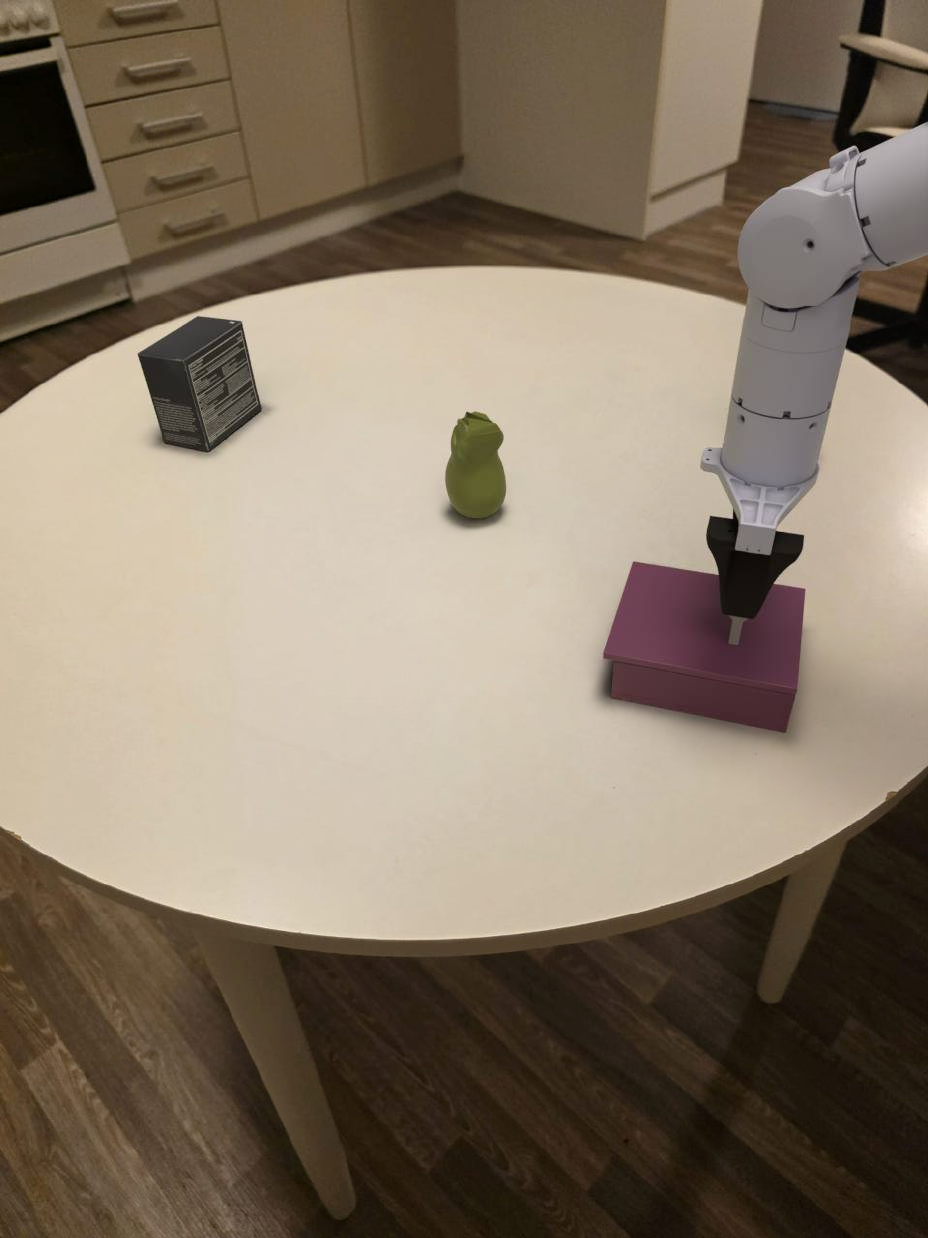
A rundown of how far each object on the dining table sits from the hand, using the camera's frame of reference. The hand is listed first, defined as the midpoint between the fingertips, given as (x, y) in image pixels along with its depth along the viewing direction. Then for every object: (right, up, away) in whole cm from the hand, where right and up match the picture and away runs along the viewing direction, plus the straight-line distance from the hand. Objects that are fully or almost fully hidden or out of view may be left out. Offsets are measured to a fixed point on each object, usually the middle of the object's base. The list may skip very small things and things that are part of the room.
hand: (744, 579), depth 62 cm
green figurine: (-18, +7, +23) cm, 30 cm away
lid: (-2, -3, +4) cm, 5 cm away
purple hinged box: (-1, -6, +6) cm, 9 cm away
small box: (-47, +19, +39) cm, 64 cm away
